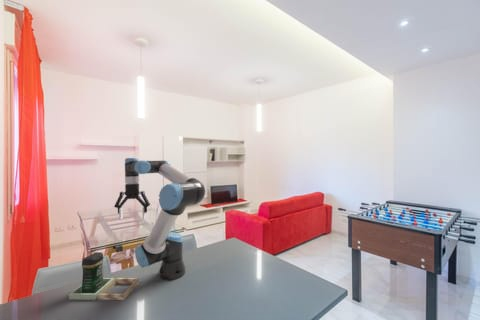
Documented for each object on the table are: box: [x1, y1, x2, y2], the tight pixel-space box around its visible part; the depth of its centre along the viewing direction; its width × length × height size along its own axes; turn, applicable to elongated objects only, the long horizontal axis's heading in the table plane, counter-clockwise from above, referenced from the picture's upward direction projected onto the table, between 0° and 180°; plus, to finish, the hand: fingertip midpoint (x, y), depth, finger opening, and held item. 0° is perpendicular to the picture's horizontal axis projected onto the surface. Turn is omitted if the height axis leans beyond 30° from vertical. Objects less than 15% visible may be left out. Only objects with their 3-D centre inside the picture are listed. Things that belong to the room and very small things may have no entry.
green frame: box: [68, 277, 115, 301], centre depth 116 cm, size 13×15×2 cm
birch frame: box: [96, 277, 140, 301], centre depth 115 cm, size 13×15×2 cm
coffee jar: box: [81, 251, 104, 293], centre depth 116 cm, size 10×8×19 cm
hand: (132, 218), depth 135 cm, fingers open, 13 cm apart
